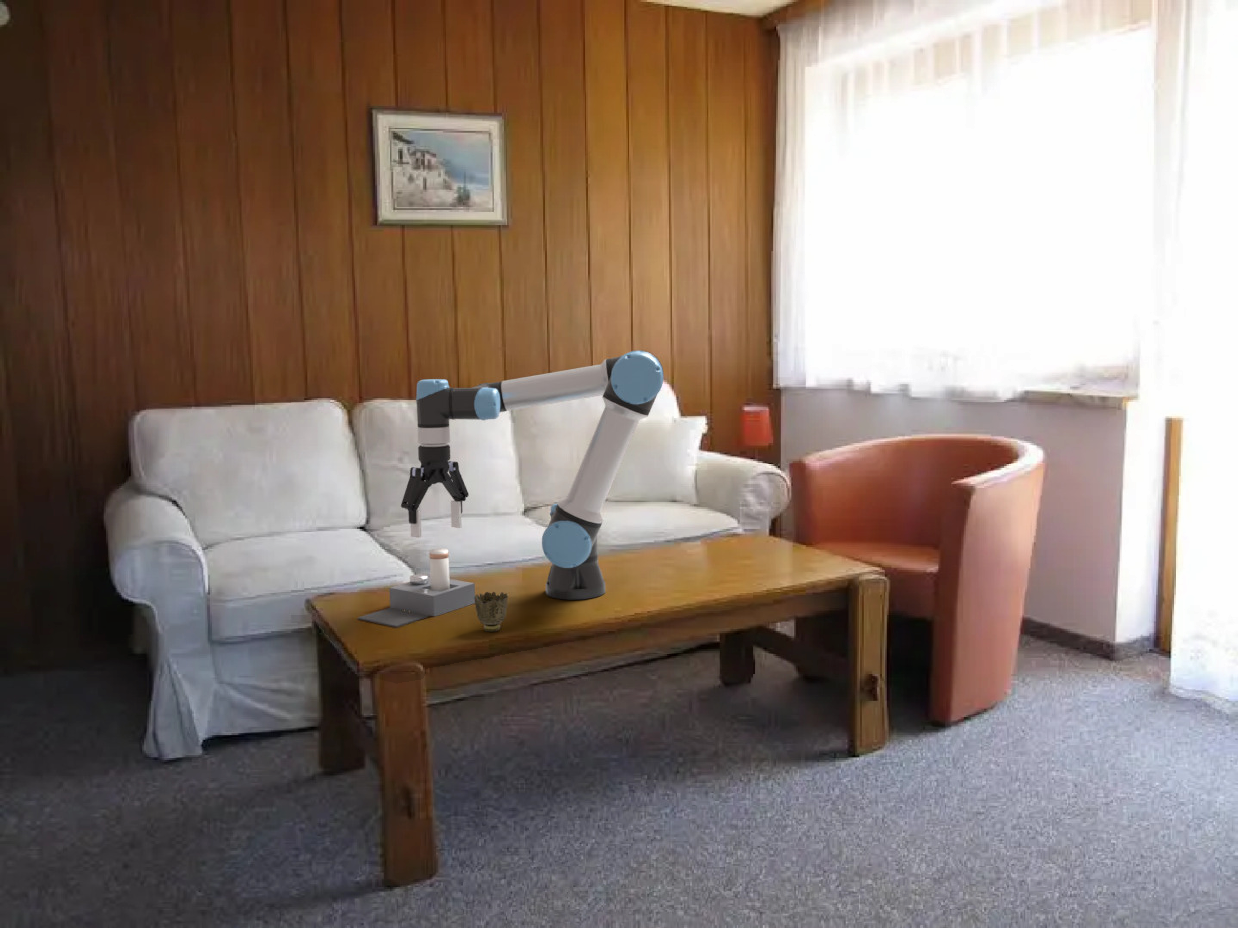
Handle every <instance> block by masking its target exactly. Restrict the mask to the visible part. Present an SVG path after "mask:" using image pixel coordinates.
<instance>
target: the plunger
mask: <svg viewBox="0 0 1238 928" xmlns="http://www.w3.org/2000/svg"><path fill="white" fill-rule="evenodd" d="M428 576H429V575H427V574H424V573H421V574H418V573H417V574H413V575H409V582H410V584H415V585H420V584H425V583H428Z"/></svg>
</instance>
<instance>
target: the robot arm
mask: <svg viewBox="0 0 1238 928" xmlns="http://www.w3.org/2000/svg"><path fill="white" fill-rule="evenodd" d="M664 375H665V373H664V367H663V365H662V363H661V361H660V359H659V358H658V357H657V356H656V355H654V354H653V353H652V352H649V351H647V350H643V349H641V350H640V349H639V350H631V351H629V352H626V353H624V354H623V355H620V356H616V357H611V358H606V359H604V360H603V361H602V363H601V364H595V365H590V366H584V367H577V368H572V369H567V370H561V371H560V370H559V371H554V372H549V373H542V374H538V375H537V374H535V375H532V376H531V375H529V376H525V377H519V378H513V379H507V380H502V381H495V382H490V383H489V382H488V383H487V382H485V383H481V384H480V383H479V384H478V385H477V386H476V385H475V386H473V387H450V385H449V381H448V380H447V379H443V378H441V379H440V378H436V379H435V378H433V379H432V378H431V379H421V380H419V381H418V382H417V383H416V399H415V402H416V414H417V416H416V417H417V419H416V421H417V443H418V444H420V445H418V447H417V450H418V458H417V459H418V461H419V462H420V467H414V466H413V467H412V466H411V467H410V469H409V478H408V482H407V485H406V488H405V491H404V494H403V497H402V501H401V505H400V507H401V508H402V509H405V510H407V512H408V514H407V515H408V523H409V524H410V537H412V538H422V517H421V516H422V515H421V509H419V507H420V504H421V503H422V501H423V499H424V497H425V496H426V493H427V492H428V489H429V488H430V487H432V485H436V484H437V483H439V484H442V485H443V487H444V489H445V490H446V492H447V493H448V494H449V495H450V496H451V498H452V499H453V500H450V516H451V517H450V518H451V519H450V520H451V522H450V523H451V524H450V525H451V527H452V528H454V529H455V528H457V529H461V528H462V527H463V525H462V514H463V502H465V501H466V500H467V499H466V498H468V497H469V492H468V489H467V486H466V485H465V484H466V483H465V482H464V479H463V477H462V474H461V472H460V468H459V462H458V461H451V446H450V444H449V443H450V442H451V437H450V436H451V433H450V431H451V429H450V420H455V421H456V420H470V421H471V420H475V421H476V420H481V421H486V420H487V421H488V420H496V419H497V418H498V417H499V416H500V413H504V412H509V411H514V410H515V411H516V410H521V409H526V408H533V407H539V406H545V405H552V404H558V403H563V402H571V401H577V400H581V399H583V400H584V399H589V398H595V397H600V396H602V400H603V403H604V408H603V411H602V414H601V416H600V418H599V421H598V423H597V425H596V428H595V430H594V432H593V436H592V437H591V439H590V443H589V444H588V447H587V450H586V452H585V454H584V457H583V459H582V461H581V463H580V466H579V468H578V470H577V473H576V475H575V477H574V480H573V483H572V484H571V488H570V490H569V492H568V494H567V497H566V498H564V499H562V500H559V501H558V502H557V503H554V504H552V505H551V506H550V512H549V516H550V520H549V523H548V526H547V527H546V529H545V530H544V531H543V534H542V538H541V548H542V551H543V554H544V556H545V557H546V558H547V561H549V562H550V563H551V566H550V569H549V572H548V577H547V580H546V582H545V595H546V596H548V597H551V598H554V599H558V600H573V601H574V600H575V601H577V600H587V599H592V598H597V597H600V596H603V595H604V594H605V593H606V581H605V580H604V577H603V573H602V570H601V568H600V565H599V555H598V551H599V550H598V549H599V548H598V534H599V531H600V529H601V527H602V525H603V522H604V520H603V516H602V515H601V510H602V508H603V506H604V504H605V501H606V499H607V496H608V494H609V492H610V490H611V487H612V485H613V482H614V480H615V478H616V475H617V473H618V470H619V469H620V466H621V464H622V461H623V459H624V456H625V454H626V452H627V450H628V447H629V445H630V443H631V440H632V438H633V436H634V433H635V431H636V428H637V427H638V424H639V422H640V421H641V420H643V419H645V418H648V416H649V414H650V412H651V410H652V408H653V405H654V403H655V400H656V398H657V397H658V394H659V393H660V391H661V389H662V387H663V384H664Z"/></svg>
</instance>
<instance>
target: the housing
mask: <svg viewBox="0 0 1238 928" xmlns="http://www.w3.org/2000/svg"><path fill="white" fill-rule="evenodd" d="M449 582H450V589H447V590H444V591H441V592H439V591H434V590H431V578H430V575H428V583H425V584H420V585H415V584H410V581H409V582H405V583H400V584H398V585H394V586H391V587H389V589H388V591H389V608H394V609H399V610H405V611H410V612H414V613H419V614H424V615H428V617H429V616H430V617H433V616H434V617H433V618H435V617H438V616H441V615H443V614H447V613H450V612H453V611H456V610H458V609H462V608H465V607H468V606H470V605H473V604H474V605H475V600H474V597H475V596H476V590H475V589H476V586H475V585H476V584H475V582H469V581H463V580H459V579H458V580H457V579H454V578H453V579H452V578H449Z"/></svg>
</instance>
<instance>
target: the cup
mask: <svg viewBox="0 0 1238 928" xmlns="http://www.w3.org/2000/svg"><path fill="white" fill-rule="evenodd" d="M508 597H509V596H508V594H507V593H504V592H503V591H502V592H500V593H499V594H496V592H495V591H493V592H492V593H491V592H489V591H486V592H485V593H483V594H482V593H479V594H475V597H474V600H475V603H474V605H475V611H476V616H477V618H478V621H479V622H480V623H481V624H483V629H484V631H486V632H489V633H493V632H498V631H499V630H500V628H501V623H502V622H504V620H505V619H506V615H507V610H508V609H507V608H508Z"/></svg>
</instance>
